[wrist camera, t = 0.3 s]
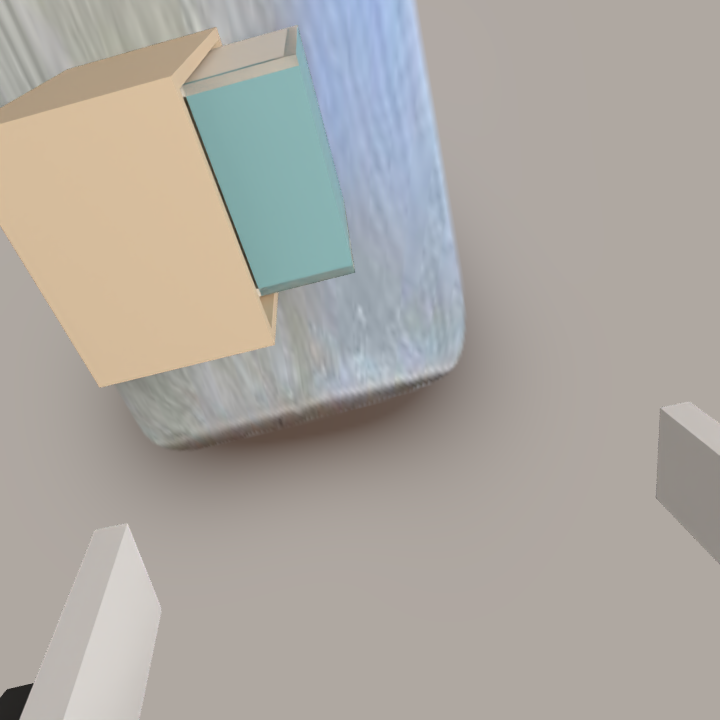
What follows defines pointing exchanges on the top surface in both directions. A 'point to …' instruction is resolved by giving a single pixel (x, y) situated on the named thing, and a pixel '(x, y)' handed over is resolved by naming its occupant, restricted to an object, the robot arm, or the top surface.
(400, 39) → the top surface
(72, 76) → the sleeve
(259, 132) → the drawer box
